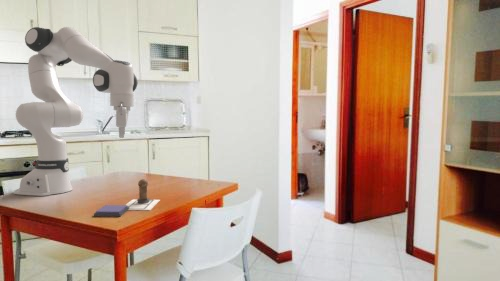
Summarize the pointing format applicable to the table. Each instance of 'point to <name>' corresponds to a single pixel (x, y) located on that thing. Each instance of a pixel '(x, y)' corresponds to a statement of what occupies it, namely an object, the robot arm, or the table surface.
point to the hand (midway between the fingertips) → (122, 136)
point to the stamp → (143, 191)
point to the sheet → (141, 205)
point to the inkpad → (111, 211)
